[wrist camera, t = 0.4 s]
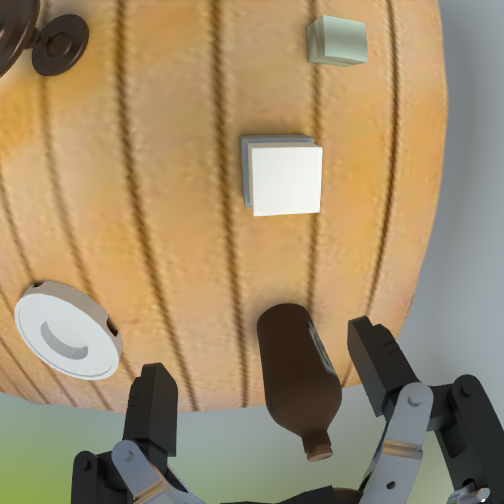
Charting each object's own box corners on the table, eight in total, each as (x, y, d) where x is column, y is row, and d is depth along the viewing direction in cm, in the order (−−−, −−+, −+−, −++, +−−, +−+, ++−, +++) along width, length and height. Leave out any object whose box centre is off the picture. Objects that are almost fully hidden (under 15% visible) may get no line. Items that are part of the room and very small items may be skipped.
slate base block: (239, 135, 32) (242, 139, 28) (304, 134, 32) (314, 138, 29) (242, 196, 36) (245, 207, 32) (302, 193, 36) (311, 203, 33)
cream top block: (247, 143, 29) (251, 148, 25) (310, 142, 29) (322, 147, 26) (249, 203, 32) (254, 216, 29) (308, 199, 33) (319, 212, 29)
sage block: (306, 27, 25) (322, 15, 20) (343, 33, 25) (365, 23, 20) (307, 62, 28) (325, 55, 22) (345, 66, 28) (367, 62, 23)
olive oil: (263, 350, 51) (288, 474, 29) (244, 312, 45) (266, 460, 24) (317, 332, 50) (362, 452, 28) (306, 291, 44) (362, 431, 23)
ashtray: (138, 317, 44) (134, 334, 41) (109, 378, 52) (106, 392, 49) (26, 257, 36) (15, 270, 32) (22, 334, 44) (16, 346, 41)
